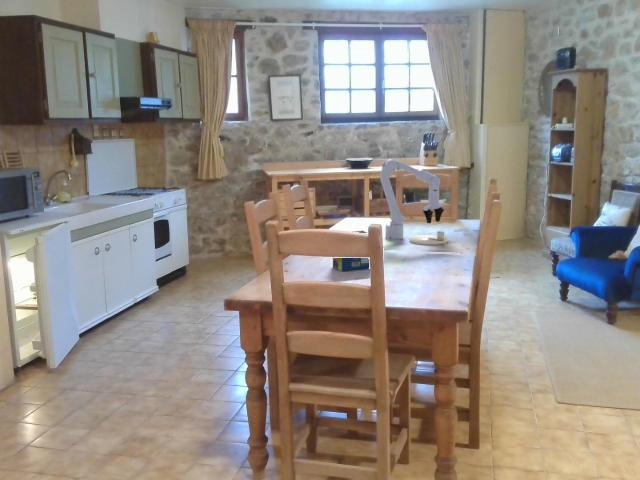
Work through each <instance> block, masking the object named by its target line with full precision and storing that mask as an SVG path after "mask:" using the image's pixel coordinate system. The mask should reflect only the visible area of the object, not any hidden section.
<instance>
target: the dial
mask: <svg viewBox="0 0 640 480" xmlns="http://www.w3.org/2000/svg"><path fill="white" fill-rule="evenodd" d="M408 239H409V240H408V242H409V243H411V244H414V245H423V246H424V245H425V246H438V245H445V244H448V240H449V239H448V237H445V231H437V233H436V234H435V235H434V234H433V235H432V234H419V235H413V236H410V237H409V238H408Z"/></svg>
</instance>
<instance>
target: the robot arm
mask: <svg viewBox="0 0 640 480" xmlns="http://www.w3.org/2000/svg"><path fill="white" fill-rule="evenodd" d="M401 170H402V171H404V172H407V173H409V174H412V175H414V176H415V178H416V180H419V181H421V182H423V183H425V184H428V204H427V205H426V206H423V210H422V212H423V214H424V216H425V219H426V223H427V224H432V217H433V213H434V215H435V222H437V223H440V221H441V217H442V214H443V212H444V210H445V209H444V204H441V203H440V185H441V184H442V183H441V182H442V181H441V178H440V177H439V176H437V175H435V174H434V173H433V172H432V173H431V172H429V171H427V170H426V169H424V168H423V169H422V168H419V169H416V168H414V167H413V166H410V165H409V164H406V163H405V162H401V161H398V160H394V159H391V158H388V159H386V160H385V161H384V162H383V164H382V166H381V171H380V175H379V181H380V182H381V186H382V189H383V192H384V194H385V198H386V201H387V202H386V203H387V205H388V209H389V218H390V220H391V221H390V222H389V223H387V224H386V225H385V238H386V239H387V240H402V239H404V220H405V219H404V218H405V217H404V215H403V214H402V213H401V211H400V208H399V206H398V202H397V199H396V196H395V193H394V190H393V186H392V184H391V180H390V178H391V177H392V175H393V174H394V173H395V172H396V171H401Z"/></svg>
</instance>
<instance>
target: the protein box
mask: <svg viewBox="0 0 640 480" xmlns="http://www.w3.org/2000/svg"><path fill="white" fill-rule="evenodd" d="M353 232H359V233H368V232H367V231H365V230H355V231H353ZM332 267H333V268H335V269H336V270H338V271H340V272H349V271H350V272H353V271H361V270H369V269H368V268H369V259H368V258H333V257H332Z"/></svg>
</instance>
